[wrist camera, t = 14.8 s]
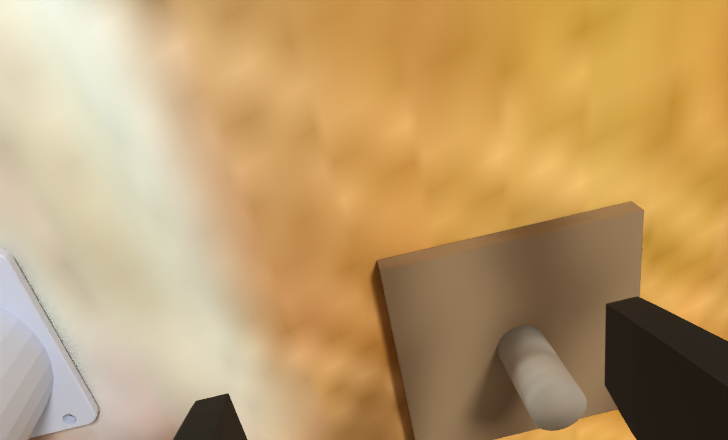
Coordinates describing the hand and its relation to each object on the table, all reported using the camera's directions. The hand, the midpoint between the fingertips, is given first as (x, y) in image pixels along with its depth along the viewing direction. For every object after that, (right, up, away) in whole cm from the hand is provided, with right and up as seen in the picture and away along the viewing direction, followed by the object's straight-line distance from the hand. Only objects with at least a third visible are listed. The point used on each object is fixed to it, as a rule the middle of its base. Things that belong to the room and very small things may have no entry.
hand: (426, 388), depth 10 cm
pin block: (+5, -2, +13) cm, 14 cm away
